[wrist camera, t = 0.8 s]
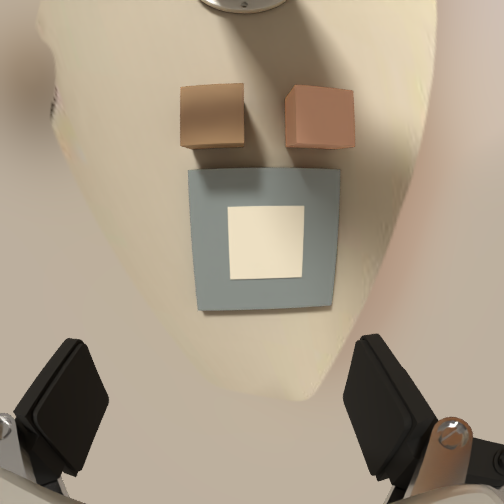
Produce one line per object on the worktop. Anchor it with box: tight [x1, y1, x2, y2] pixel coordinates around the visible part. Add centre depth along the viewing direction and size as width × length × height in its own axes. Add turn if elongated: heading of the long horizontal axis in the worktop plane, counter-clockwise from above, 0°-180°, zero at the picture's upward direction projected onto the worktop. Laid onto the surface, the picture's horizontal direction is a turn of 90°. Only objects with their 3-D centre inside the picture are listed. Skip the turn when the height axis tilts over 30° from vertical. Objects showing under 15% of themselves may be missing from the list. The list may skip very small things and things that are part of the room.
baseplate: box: [188, 168, 340, 311], centre depth 31 cm, size 16×16×1 cm
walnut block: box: [180, 83, 244, 149], centre depth 25 cm, size 6×6×6 cm
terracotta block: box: [285, 85, 355, 149], centre depth 25 cm, size 6×6×6 cm
